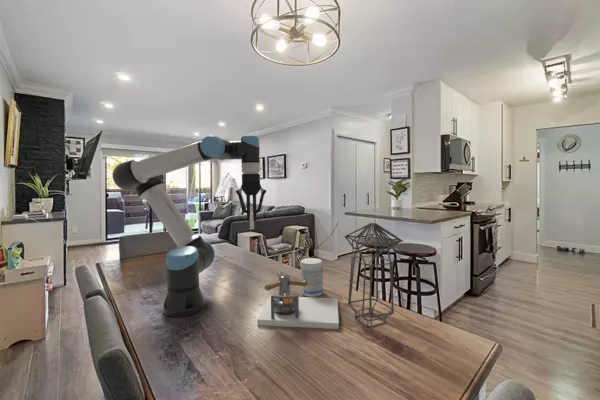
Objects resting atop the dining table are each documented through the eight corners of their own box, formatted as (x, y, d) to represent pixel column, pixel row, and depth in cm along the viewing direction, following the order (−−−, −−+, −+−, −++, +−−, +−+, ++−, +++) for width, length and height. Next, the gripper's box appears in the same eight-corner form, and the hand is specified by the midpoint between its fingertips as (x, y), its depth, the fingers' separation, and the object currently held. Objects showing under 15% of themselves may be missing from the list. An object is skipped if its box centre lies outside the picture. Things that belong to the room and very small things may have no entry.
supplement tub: (327, 294, 124) (327, 261, 123) (309, 299, 119) (309, 265, 118) (313, 287, 132) (313, 256, 131) (296, 292, 127) (296, 259, 126)
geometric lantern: (340, 314, 106) (341, 221, 104) (374, 307, 112) (376, 219, 110) (366, 335, 91) (368, 227, 89) (404, 326, 97) (406, 224, 96)
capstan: (260, 299, 114) (260, 270, 113) (299, 295, 118) (298, 267, 117) (266, 317, 99) (265, 285, 98) (309, 312, 103) (309, 280, 102)
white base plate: (257, 325, 98) (256, 295, 98) (269, 300, 118) (269, 275, 118) (338, 329, 95) (338, 298, 95) (337, 303, 115) (337, 277, 114)
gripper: (233, 173, 115) (235, 230, 117) (265, 173, 116) (267, 230, 118) (236, 173, 122) (237, 227, 124) (266, 173, 123) (267, 227, 125)
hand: (252, 228), depth 121 cm, fingers closed
